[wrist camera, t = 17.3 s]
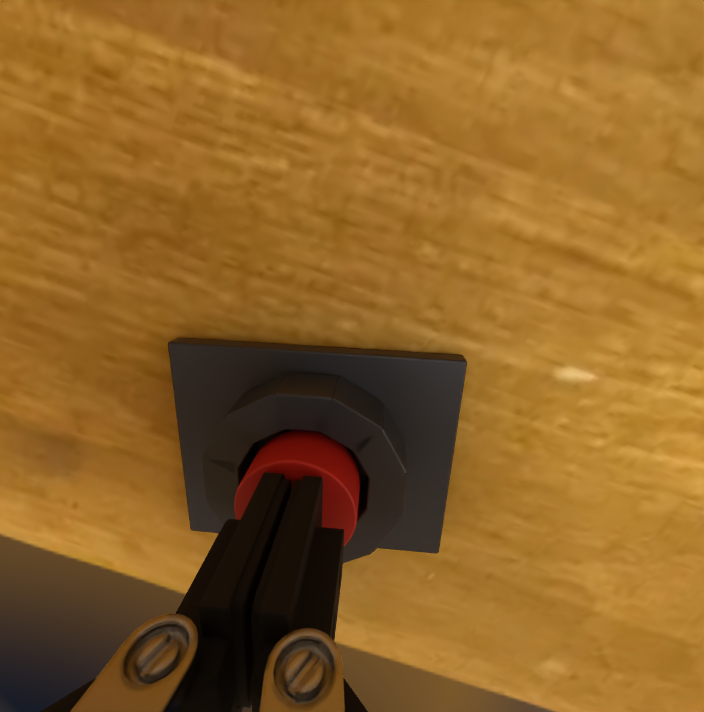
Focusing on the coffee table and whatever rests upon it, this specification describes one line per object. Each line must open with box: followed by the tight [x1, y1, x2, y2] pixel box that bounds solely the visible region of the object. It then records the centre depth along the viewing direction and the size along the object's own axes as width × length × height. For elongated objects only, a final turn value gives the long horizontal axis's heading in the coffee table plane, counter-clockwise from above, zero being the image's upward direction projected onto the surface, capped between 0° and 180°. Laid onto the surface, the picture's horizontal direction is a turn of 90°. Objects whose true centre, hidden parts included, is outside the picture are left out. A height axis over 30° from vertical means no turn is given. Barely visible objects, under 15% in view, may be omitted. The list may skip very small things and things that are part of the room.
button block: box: [168, 338, 467, 563], centre depth 13 cm, size 10×8×2 cm
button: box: [234, 430, 360, 546], centre depth 11 cm, size 4×4×2 cm
